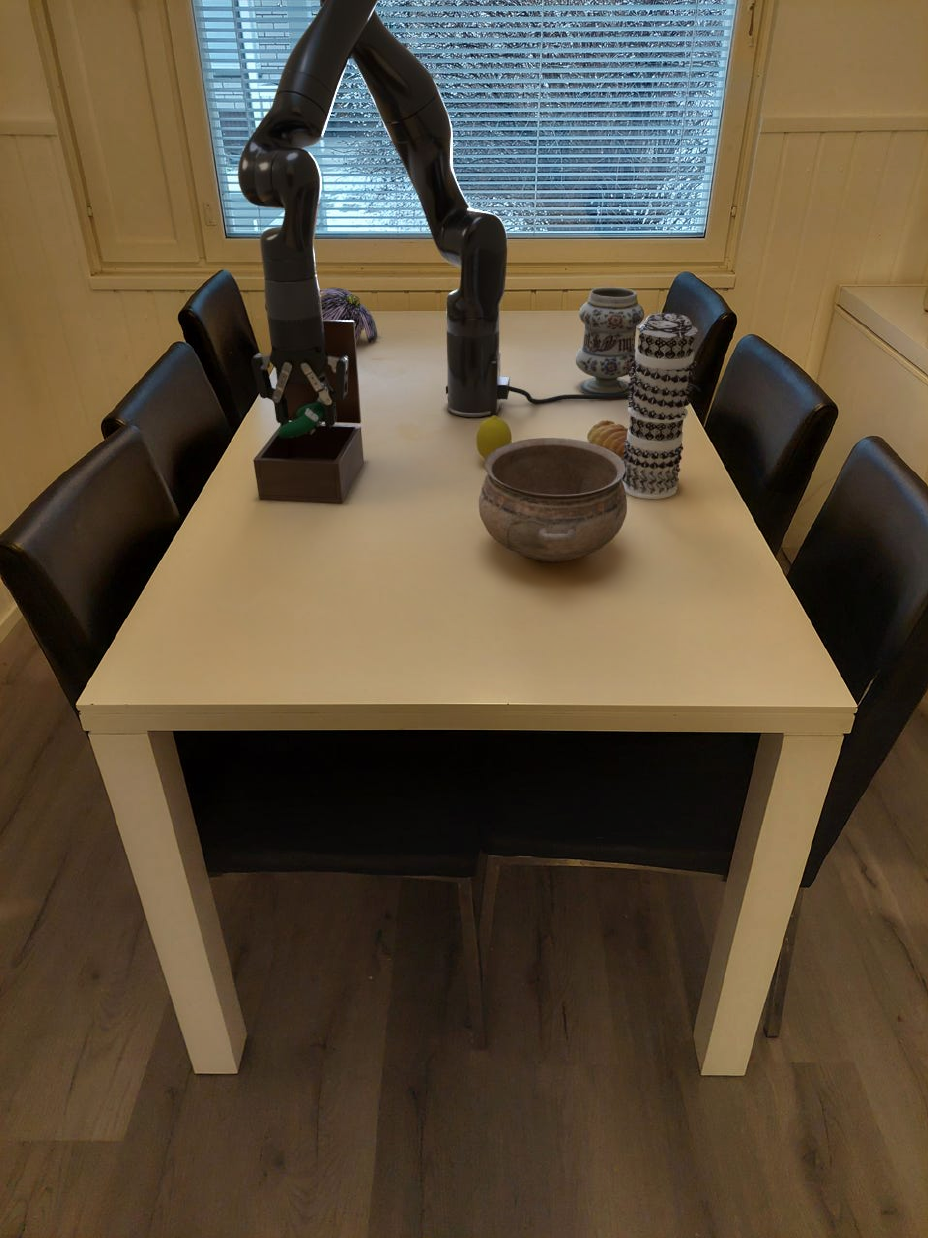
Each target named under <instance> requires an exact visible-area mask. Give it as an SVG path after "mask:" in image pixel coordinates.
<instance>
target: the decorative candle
mask: <svg viewBox="0 0 928 1238" xmlns="http://www.w3.org/2000/svg"><path fill="white" fill-rule="evenodd" d="M692 323H693V322H692V321H691V320H690V318H689V317H688V316H685V315H683V314H680V313H675V312H658V313H657V312H656V313H653V314H650V315H648V316H647V317H646V318H645V320H643V322H641V323H640V324H639V325H637V327H636V330H637V331H638V332H639V333H638V338H637V342H638V344H637V348H635V349H636V354H635V356H632V357H631V358H630V362H631V363H630V365H631V366H632V369H631V372H630V373H629V375H628V376H629V378H630V379H629V380H630V381H629V382H628V386H629V391H630V396H629V397H628V398H627V401H628V408H627V412H628V415H629V416H630V418H629V427H628V432H627V440H626V441H625V442H624V444H625V448H626V450H625V451H624V452H623V454H624V458H625V459H623V460H622V461H623V463H624V465H625V473H624V475H623V477H622V478H621V479H622V482H623V485H624V488H625V493H626V495H627V494H628V495H630V496H632V497H636V498H638V499H644V500H645V499H646V500H661V499H666V498H670V497H672V496H673V495H675V494H676V492H677V490H678V482H679V481H680V478H679V473H680V472H681V468H680V463H681V461H682V458H683V457H682V456H681V455H682V454H681V453H682V452H683V450H684V446H683V437H684V436H683V435H684V433H683V426H684V419H686V418H687V417H688V414H689V410H688V409H687V408H686V407H688V406H689V405H691V403H692V400H691V398H690V397H689V396H690V395H691V394H692V393H693V392H694V390H693V388H691V387H690V386H689V385H687V384H688V383H691V382H692V381H694V380H695V379H696V378H697V376H696V374H695V373H694V372H693V371H694V370H696V369H697V368H698V366H699V363H698V362H697V361H695V360H694V357H695V351H694V347H695V341H696V334H697V333H698V332H699V329H698V328H697V327H696V326H694V325H693V324H692ZM635 360H636V361H635ZM636 362H637V365H636Z"/></svg>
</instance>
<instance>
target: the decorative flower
mask: <svg viewBox="0 0 928 1238" xmlns="http://www.w3.org/2000/svg"><path fill="white" fill-rule="evenodd" d="M320 296H321V306H322V317H323V320H341V321H354V323H355V337H356V344H357V343H358V341H359V340H360V337H361V336H362V332H363V330H364V331H365V334H366V338H367V342H368V343H369V344H370V343H371V342H372V341H373V342H375V340H377V338H378V329H377V325H376V321H375V319H374V317H373V315H372V313H371V312H370V310H369V309H368V308H367V307H365V306H364V305H363V304H362V303H361V301H360V298H359V297H358V296H357V295H355V294H353V293H352V292H350V291H348V290H347V289H344V288H342V287H326V288H323V289H320Z"/></svg>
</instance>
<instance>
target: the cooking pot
mask: <svg viewBox="0 0 928 1238" xmlns="http://www.w3.org/2000/svg"><path fill="white" fill-rule="evenodd" d="M623 461H624V460H623V459H620V457H619V456H617V455H616V454H615V453H613V452H612V451H610V450H608V449H606V448H604V447H601V446H598V445H596V444H592V443H589V441H584V440H578V439H572V438H564V437H563V438H561V437H560V438H559V437H537V438H529V439H524V440H523V439H522V440H517V441H514V442H512V443H510V444H507V445H504V446H502V447H500V448H498V449H496V450H494V451H493V452H492V453H491V454H489V456H488V457H487V458H486V460H485V461H484V470H485V472H486V475H485V476H484V477H485V478H484V480H483V483H482V486H481V489H480V493H479V496H478V510H479V517H480V519H481V521H482V523H483V525H484V527H485V530H486V531H487V532H488V534H489V535H490V536H491V537H492V538H493V539H494V541H495V542H497V543H498V544H499V545H501V546H502V547H504V548H505V549H507V550H509V551H511V552H512V553H514V554H517V555H520V556H522V557H525V558H527V559H531V560H534V561H537V562H541V563H548V564H557V563H563V562H566V561H570V560H574V559H580V558H582V557H585V556H588V555H591V554H593V553H596V552H598V551H600V550H601V549H602V548H604V547H606V546H607V545H608V544H609V543H611V542H612V540H613V539H614V538H615V537H616V536H617V534H618V533H619V532H620V530H621V529H622V527H623V525H624V523H625V520H626V517H627V511H628V498H627V493H626V492H625V488H624V485H623V482H622V477H623V475H624V473H625V465H624V463H623Z"/></svg>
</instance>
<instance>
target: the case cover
mask: <svg viewBox="0 0 928 1238" xmlns="http://www.w3.org/2000/svg"><path fill="white" fill-rule="evenodd" d="M323 328H324V338H325V348H326V350H327V352H328V354H329V356H334V357H341V356H343V355H346V356H347V357H348V359H349V365H348V390H347V394H346V396H345V397H344V399H343V400H342V401H337V402H336V414H337V420H336V422H335V424H337V423H338V424H361V423H362V413H361V399H360V398H361V397H360V384H359V383H360V382H359V369H358V355H357V354H358V353H357V343H356V337H355V323H354V321H341V320H323ZM275 373H276V382H277V381H278V379H279V376H280V373H279V372H278V371H277V369H276V368H275ZM324 373H325V375H326V376H327V378H328V380H329V384H330V386H331V387H332V389H333V391H336V373H334V372H333V371H332V367H331V365H329V364H327V366H326V368H325V369H324ZM321 377H322V376H321ZM319 396H320V395H319V393H318V392H316V391H315V389H314V387H313V386H312V384H311V385H305V384H302V383H298V384H289V385H288V388H287V390H286V393H285V395H284V398H285V399H287V405H288V414H289V422H291V421H293V420H295V419H298V417H297V415H296V413H297V411H298V410H299V409H300V408H301V407H303V406H305V405H309V404H313V403H315V402H316V400H317V399H318V398H319ZM320 422H322V423H325V420H324V417H323V418H322V419H321V421H320Z"/></svg>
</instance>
